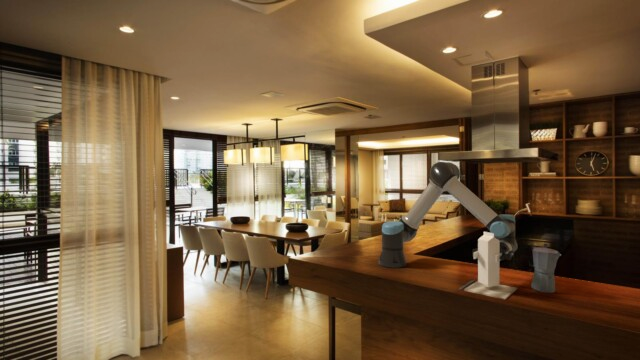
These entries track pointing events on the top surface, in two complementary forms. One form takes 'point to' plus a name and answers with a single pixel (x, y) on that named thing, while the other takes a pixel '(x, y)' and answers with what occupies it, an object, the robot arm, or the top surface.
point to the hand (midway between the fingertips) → (485, 257)
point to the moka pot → (543, 268)
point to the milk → (488, 259)
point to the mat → (489, 289)
